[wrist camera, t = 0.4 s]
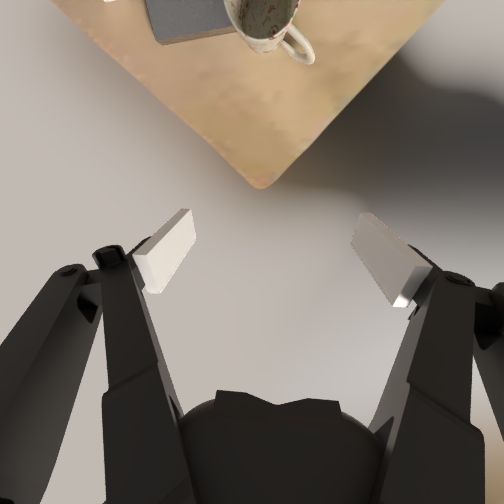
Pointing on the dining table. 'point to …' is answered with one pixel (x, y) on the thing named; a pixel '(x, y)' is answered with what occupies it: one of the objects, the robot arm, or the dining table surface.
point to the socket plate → (188, 19)
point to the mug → (268, 26)
